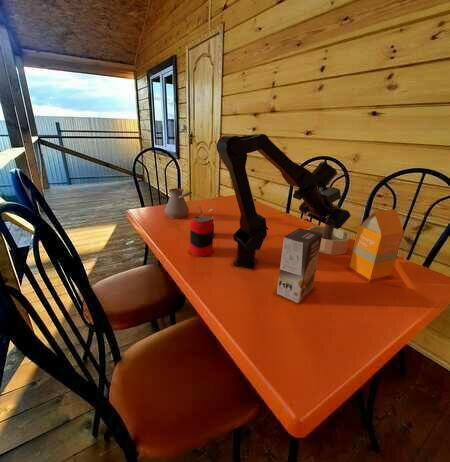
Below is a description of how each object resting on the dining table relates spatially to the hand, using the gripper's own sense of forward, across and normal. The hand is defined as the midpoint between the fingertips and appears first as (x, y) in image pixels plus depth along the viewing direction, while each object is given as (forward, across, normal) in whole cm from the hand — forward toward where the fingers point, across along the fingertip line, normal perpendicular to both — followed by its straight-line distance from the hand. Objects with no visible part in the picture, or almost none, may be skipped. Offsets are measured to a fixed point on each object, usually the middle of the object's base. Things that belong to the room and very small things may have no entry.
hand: (332, 225), depth 91 cm
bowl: (+5, 0, +7) cm, 9 cm away
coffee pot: (-25, +47, +37) cm, 65 cm away
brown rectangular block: (+4, 0, +6) cm, 8 cm away
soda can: (-26, +12, +38) cm, 48 cm away
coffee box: (-14, -18, +27) cm, 36 cm away
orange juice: (+5, -18, +7) cm, 20 cm away
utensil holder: (-22, +25, +34) cm, 47 cm away
